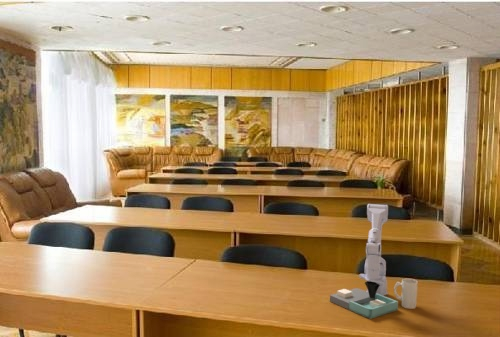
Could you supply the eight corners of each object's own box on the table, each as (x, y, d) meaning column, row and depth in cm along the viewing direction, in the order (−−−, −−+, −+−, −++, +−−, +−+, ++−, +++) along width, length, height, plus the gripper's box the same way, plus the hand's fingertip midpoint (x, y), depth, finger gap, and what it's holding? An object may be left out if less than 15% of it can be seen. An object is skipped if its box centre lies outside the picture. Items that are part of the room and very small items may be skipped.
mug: (416, 304, 218) (417, 279, 217) (416, 309, 212) (417, 283, 211) (393, 301, 222) (394, 276, 221) (393, 307, 215) (394, 281, 214)
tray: (376, 301, 222) (376, 293, 221) (397, 310, 212) (398, 301, 211) (349, 309, 212) (349, 301, 211) (370, 319, 202) (370, 309, 201)
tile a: (385, 302, 213) (385, 306, 213) (377, 299, 217) (377, 303, 217) (378, 304, 210) (378, 309, 210) (369, 301, 214) (369, 305, 215)
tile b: (344, 292, 225) (344, 288, 225) (352, 295, 221) (352, 291, 221) (336, 294, 222) (337, 290, 222) (344, 298, 218) (344, 293, 218)
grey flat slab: (356, 293, 232) (357, 288, 232) (375, 301, 222) (376, 295, 222) (329, 301, 222) (330, 295, 222) (348, 309, 212) (348, 303, 212)
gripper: (355, 265, 219) (354, 294, 220) (379, 274, 207) (378, 304, 208) (365, 263, 223) (364, 291, 224) (390, 271, 211) (389, 301, 212)
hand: (372, 297), depth 217 cm, fingers closed
